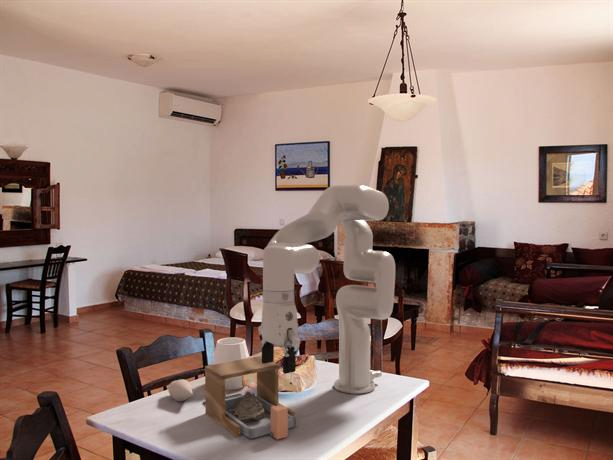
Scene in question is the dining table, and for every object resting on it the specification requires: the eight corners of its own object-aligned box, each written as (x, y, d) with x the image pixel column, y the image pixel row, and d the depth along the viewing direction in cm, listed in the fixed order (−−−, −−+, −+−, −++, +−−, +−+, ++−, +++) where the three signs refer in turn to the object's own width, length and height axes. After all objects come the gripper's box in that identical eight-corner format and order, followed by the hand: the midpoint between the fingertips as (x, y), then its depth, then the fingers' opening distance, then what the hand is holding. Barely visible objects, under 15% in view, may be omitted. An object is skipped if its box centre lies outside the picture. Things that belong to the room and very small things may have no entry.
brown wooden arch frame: (247, 392, 165) (247, 350, 164) (294, 420, 144) (294, 372, 143) (194, 405, 155) (193, 359, 154) (236, 436, 134) (236, 384, 134)
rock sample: (216, 404, 145) (241, 381, 147) (229, 414, 151) (253, 391, 153) (237, 432, 138) (263, 407, 140) (249, 441, 144) (274, 417, 146)
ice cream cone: (192, 410, 151) (173, 402, 163) (207, 392, 154) (187, 386, 166) (177, 395, 149) (159, 389, 162) (192, 377, 152) (173, 372, 165)
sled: (256, 402, 156) (256, 378, 156) (305, 431, 137) (305, 403, 136) (214, 412, 149) (214, 387, 148) (258, 445, 129) (258, 415, 129)
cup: (225, 395, 163) (225, 348, 162) (201, 384, 173) (200, 340, 172) (261, 385, 172) (261, 341, 171) (236, 375, 182) (236, 333, 181)
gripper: (312, 300, 127) (311, 373, 128) (273, 291, 141) (272, 357, 142) (284, 303, 123) (284, 379, 124) (247, 293, 137) (247, 361, 138)
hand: (278, 367), depth 133 cm, fingers open, 9 cm apart
